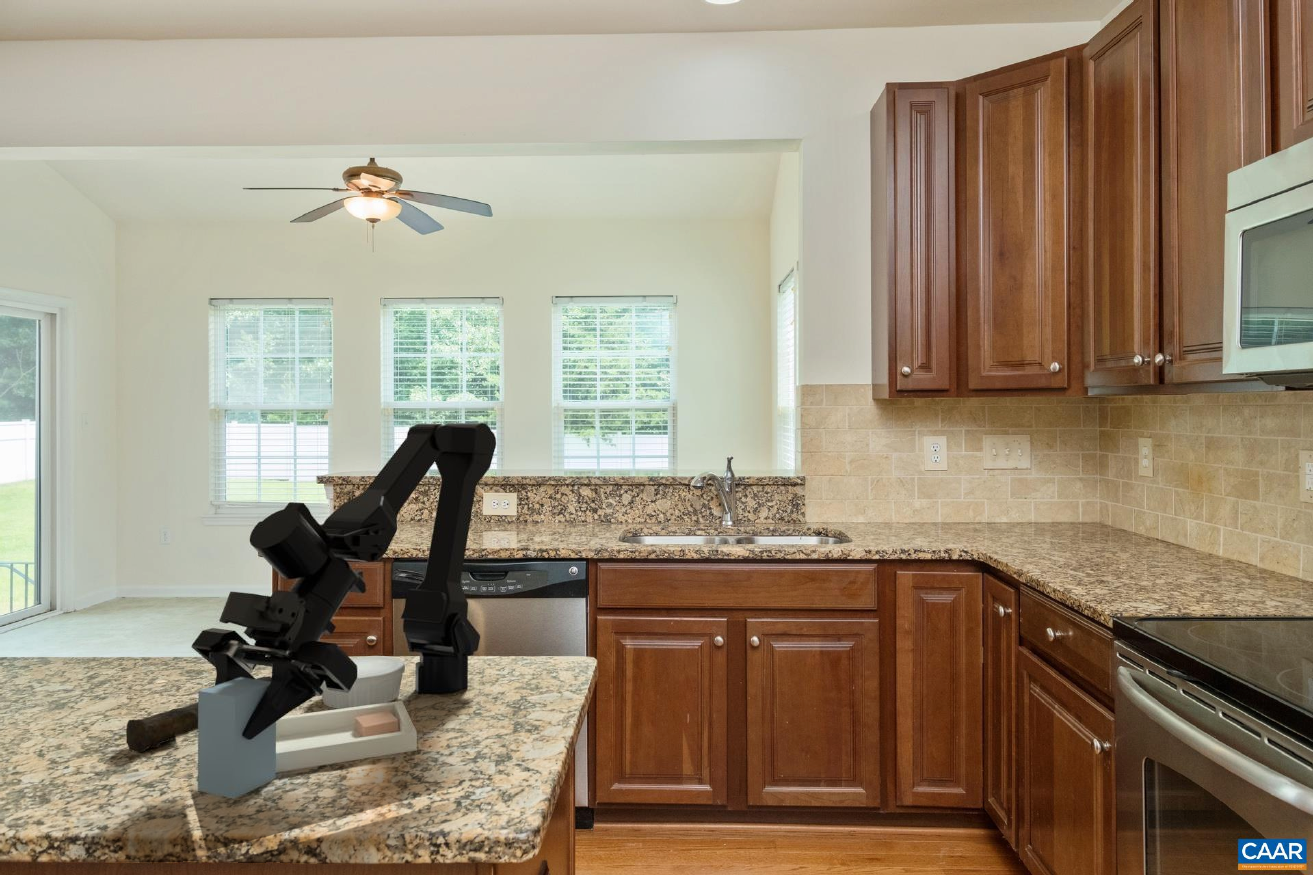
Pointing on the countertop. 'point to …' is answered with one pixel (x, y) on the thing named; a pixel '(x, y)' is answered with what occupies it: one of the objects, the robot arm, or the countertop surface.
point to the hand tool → (163, 726)
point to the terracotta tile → (376, 724)
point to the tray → (339, 737)
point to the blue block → (233, 739)
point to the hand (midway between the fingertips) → (226, 733)
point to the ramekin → (369, 683)
